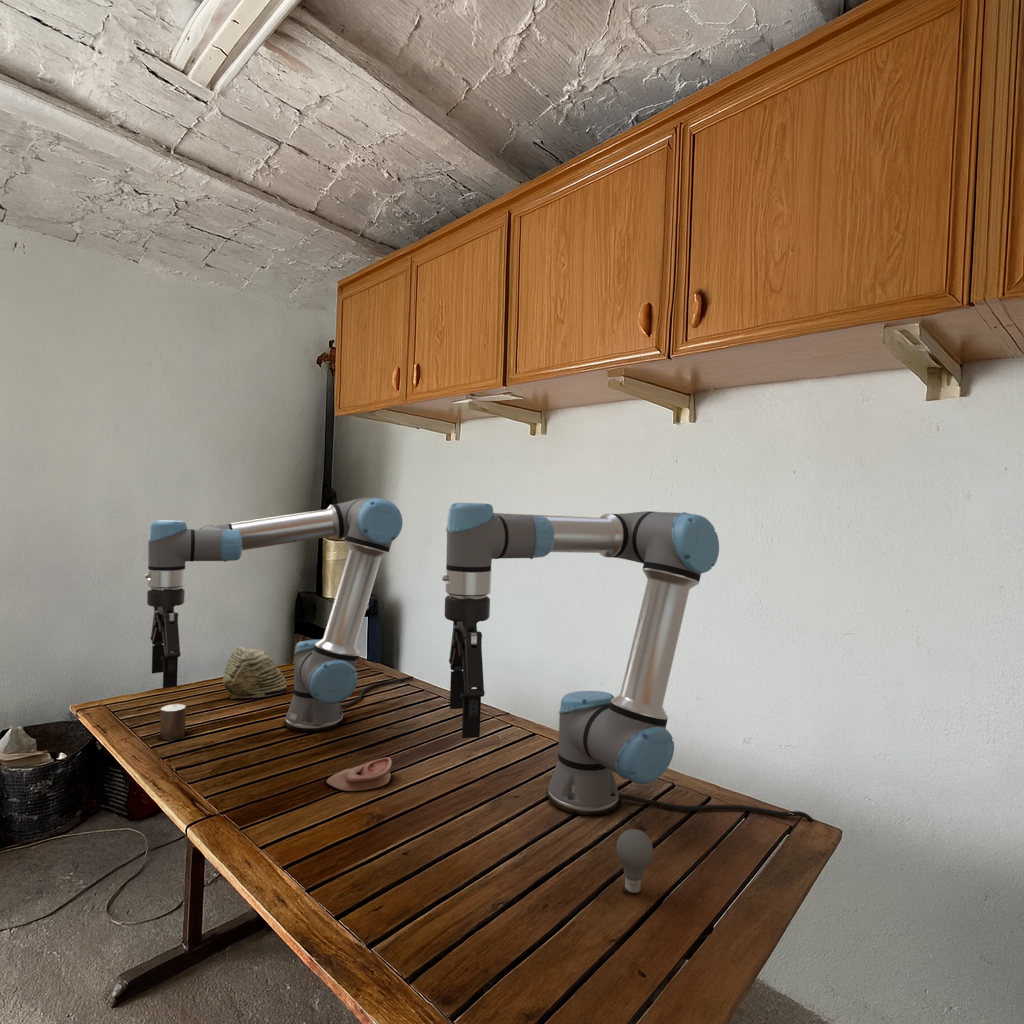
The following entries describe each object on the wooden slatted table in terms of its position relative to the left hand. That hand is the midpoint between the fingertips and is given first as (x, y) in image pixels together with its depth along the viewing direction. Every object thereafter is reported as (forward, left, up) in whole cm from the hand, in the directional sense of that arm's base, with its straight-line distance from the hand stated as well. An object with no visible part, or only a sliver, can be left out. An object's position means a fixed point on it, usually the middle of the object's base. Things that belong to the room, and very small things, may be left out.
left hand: (163, 679), depth 146 cm
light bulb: (-32, +104, -20) cm, 111 cm away
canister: (-9, -15, -20) cm, 26 cm away
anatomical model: (-26, +39, -20) cm, 51 cm away
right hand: (-14, +81, +7) cm, 82 cm away
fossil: (-41, -32, -20) cm, 56 cm away
